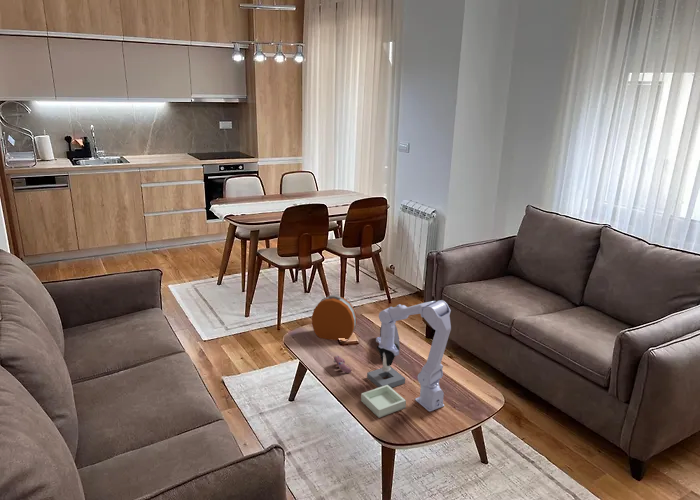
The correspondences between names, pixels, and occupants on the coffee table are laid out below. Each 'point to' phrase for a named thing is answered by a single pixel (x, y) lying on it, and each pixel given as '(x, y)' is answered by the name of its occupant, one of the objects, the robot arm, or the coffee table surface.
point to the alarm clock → (334, 318)
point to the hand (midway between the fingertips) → (386, 363)
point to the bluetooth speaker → (395, 338)
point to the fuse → (385, 364)
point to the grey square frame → (392, 381)
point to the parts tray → (383, 401)
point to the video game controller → (342, 364)
